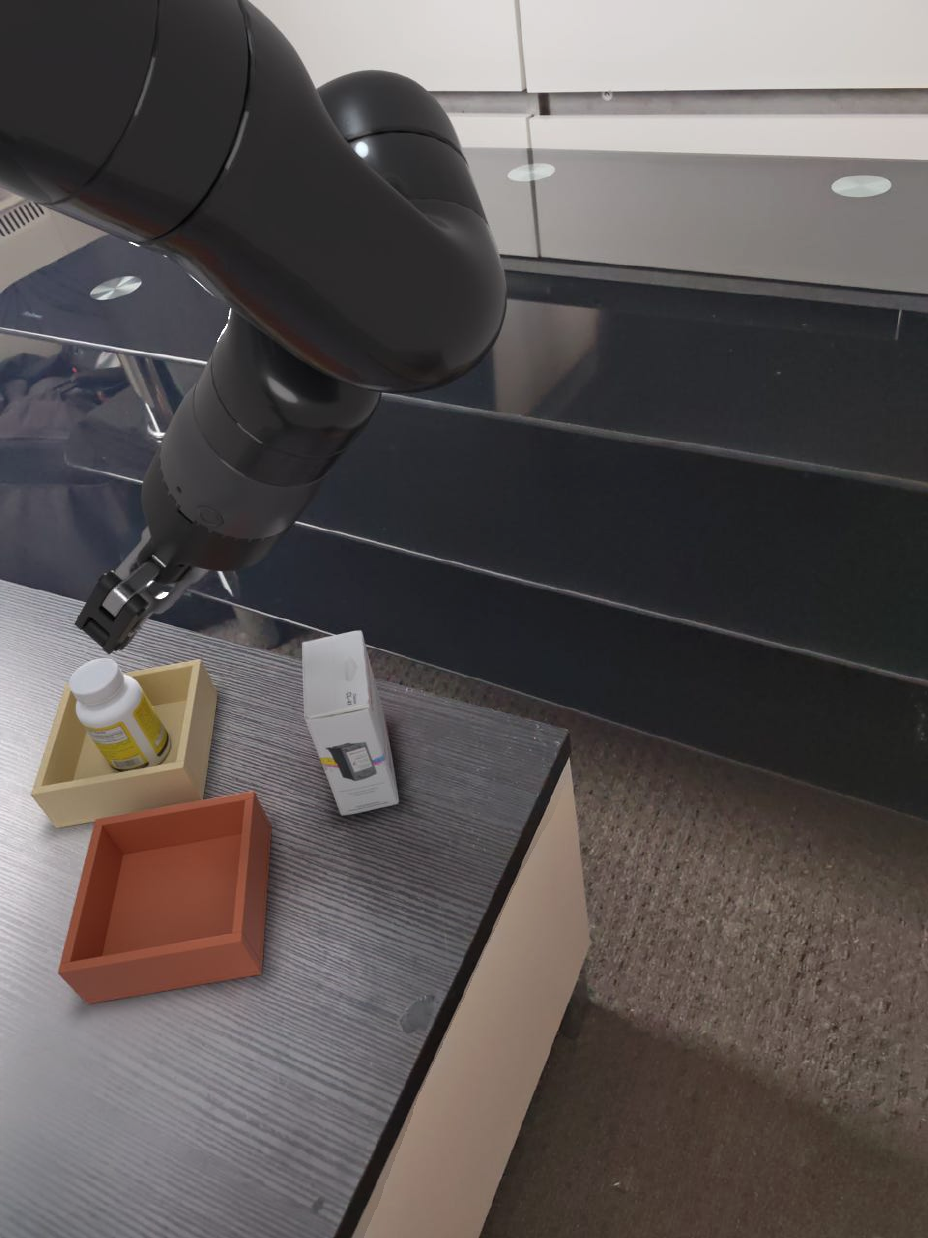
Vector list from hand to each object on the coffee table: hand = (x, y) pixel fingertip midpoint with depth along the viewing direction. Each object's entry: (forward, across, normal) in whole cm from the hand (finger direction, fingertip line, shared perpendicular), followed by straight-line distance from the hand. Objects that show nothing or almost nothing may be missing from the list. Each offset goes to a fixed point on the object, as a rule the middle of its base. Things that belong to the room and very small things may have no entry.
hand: (158, 592), depth 58 cm
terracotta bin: (+17, +9, +16) cm, 25 cm away
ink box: (+13, -7, +20) cm, 25 cm away
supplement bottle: (+26, 0, +6) cm, 27 cm away
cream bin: (+27, 0, +6) cm, 28 cm away
